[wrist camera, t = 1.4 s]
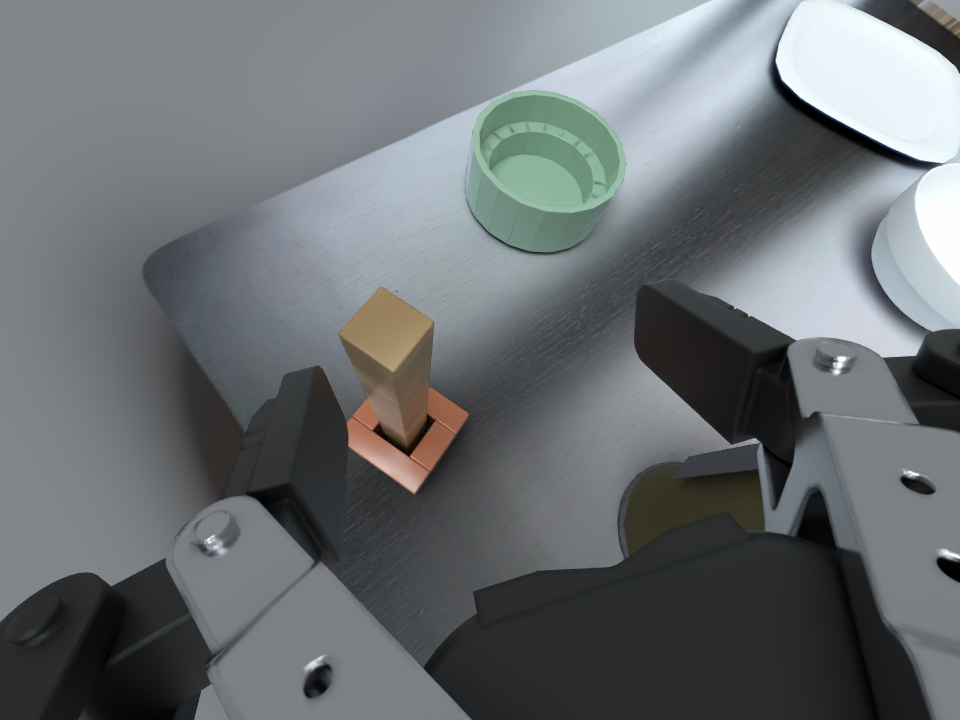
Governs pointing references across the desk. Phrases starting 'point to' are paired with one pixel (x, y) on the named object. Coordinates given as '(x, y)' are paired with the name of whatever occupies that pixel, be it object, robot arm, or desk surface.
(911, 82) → the plate
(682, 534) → the robot arm
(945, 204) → the bowl
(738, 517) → the canister
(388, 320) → the stirring stick
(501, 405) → the desk surface
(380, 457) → the orange square socket block
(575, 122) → the mixing bowl
